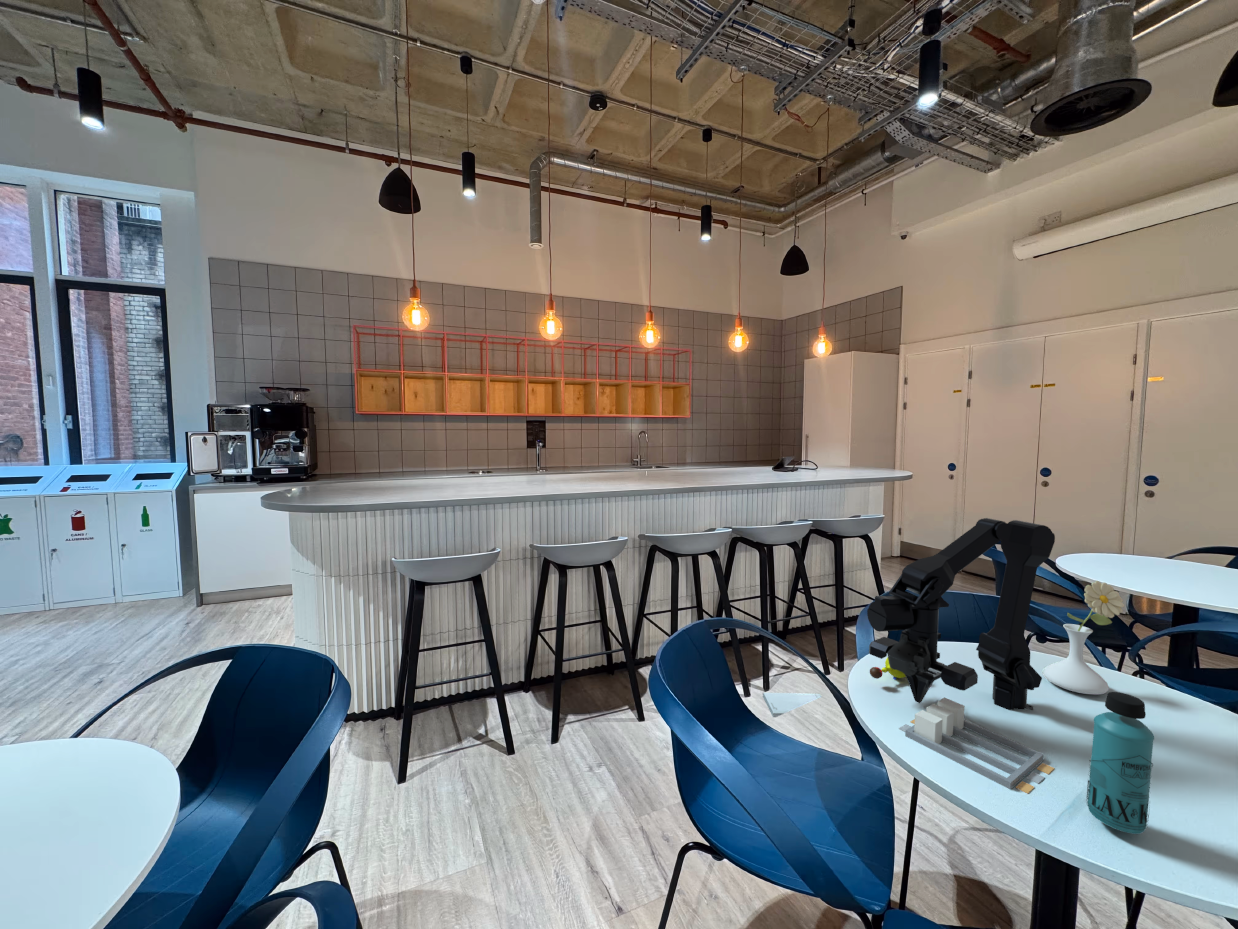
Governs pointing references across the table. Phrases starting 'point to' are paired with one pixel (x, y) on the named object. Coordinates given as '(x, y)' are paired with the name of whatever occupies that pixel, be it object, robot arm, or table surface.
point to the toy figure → (877, 672)
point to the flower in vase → (1074, 668)
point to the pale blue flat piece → (787, 701)
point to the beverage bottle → (1121, 765)
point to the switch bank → (1014, 772)
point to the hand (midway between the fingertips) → (918, 701)
